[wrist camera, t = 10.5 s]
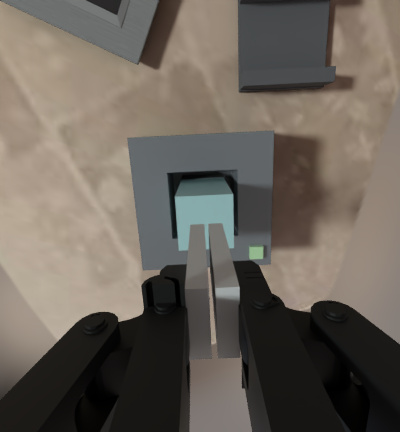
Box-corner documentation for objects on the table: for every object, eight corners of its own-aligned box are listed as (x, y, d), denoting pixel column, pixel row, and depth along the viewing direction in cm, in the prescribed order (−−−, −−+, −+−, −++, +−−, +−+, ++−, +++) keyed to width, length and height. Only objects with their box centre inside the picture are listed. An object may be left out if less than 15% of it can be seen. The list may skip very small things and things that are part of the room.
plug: (182, 175, 28) (173, 196, 19) (221, 173, 28) (234, 193, 19) (184, 213, 30) (178, 251, 20) (222, 211, 30) (234, 248, 20)
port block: (141, 137, 28) (126, 137, 22) (258, 131, 28) (275, 130, 22) (152, 245, 32) (142, 272, 26) (257, 240, 32) (271, 266, 25)
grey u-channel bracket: (238, -9, 25) (243, -28, 22) (327, -14, 25) (344, -34, 22) (238, 92, 27) (243, 87, 24) (320, 88, 27) (334, 82, 24)
